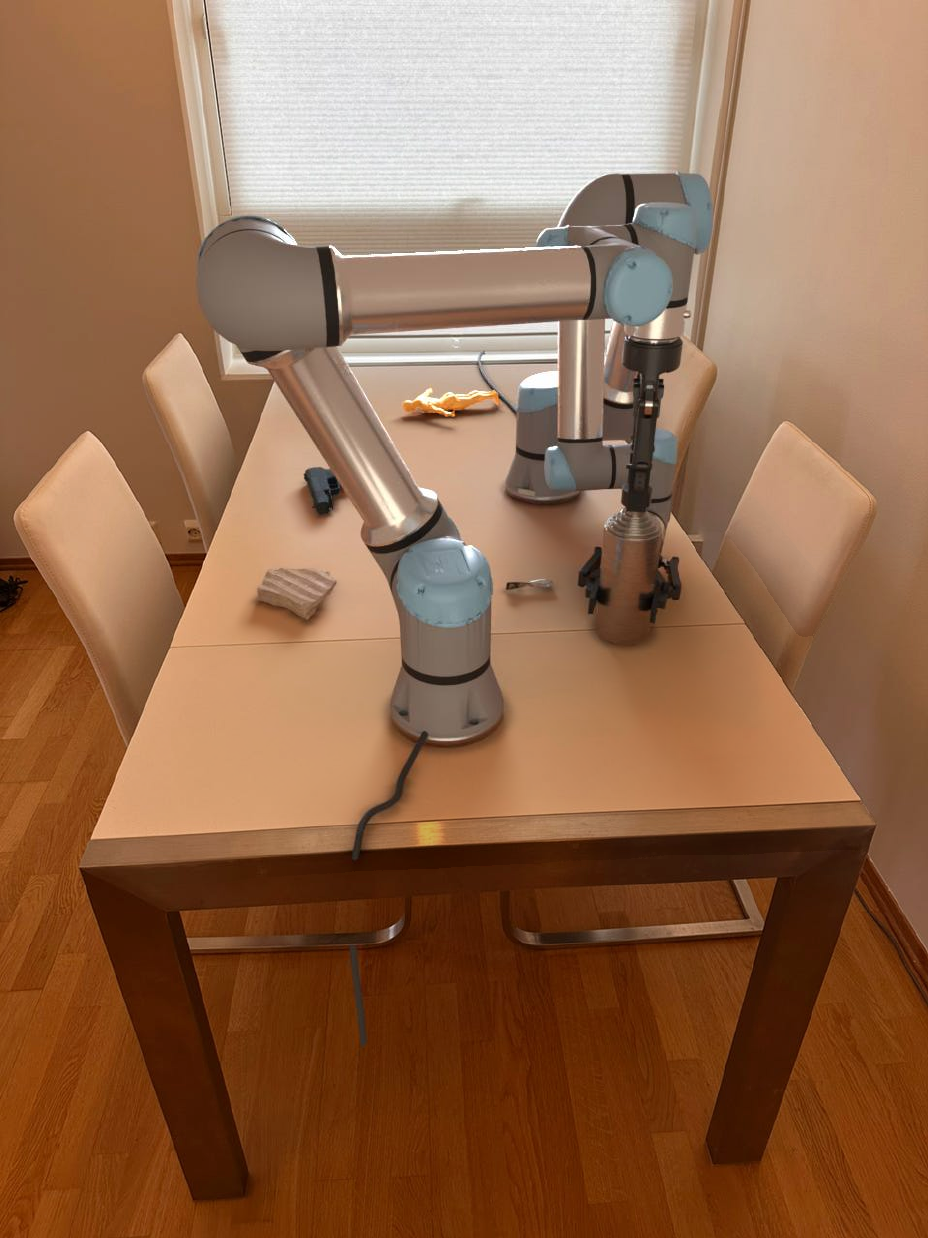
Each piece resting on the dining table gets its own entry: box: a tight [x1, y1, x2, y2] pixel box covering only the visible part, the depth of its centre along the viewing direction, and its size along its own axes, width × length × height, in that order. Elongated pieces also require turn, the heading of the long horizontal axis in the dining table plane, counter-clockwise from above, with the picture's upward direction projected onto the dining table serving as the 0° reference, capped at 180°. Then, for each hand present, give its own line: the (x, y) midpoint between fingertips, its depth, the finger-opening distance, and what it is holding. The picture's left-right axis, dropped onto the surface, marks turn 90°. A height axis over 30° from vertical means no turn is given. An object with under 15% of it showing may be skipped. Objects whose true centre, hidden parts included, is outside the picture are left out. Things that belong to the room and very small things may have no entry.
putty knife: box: [505, 578, 554, 591], centre depth 148 cm, size 1×8×2 cm, turn 103°
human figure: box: [402, 385, 500, 418], centre depth 225 cm, size 20×20×4 cm
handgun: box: [303, 466, 343, 515], centre depth 181 cm, size 3×18×12 cm
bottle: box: [594, 506, 663, 647], centre depth 132 cm, size 8×8×23 cm
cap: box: [620, 483, 652, 508], centre depth 126 cm, size 4×4×2 cm
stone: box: [256, 567, 337, 621], centre depth 147 cm, size 13×12×3 cm
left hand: (635, 503), depth 127 cm, fingers closed on cap, 4 cm apart
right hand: (621, 610), depth 131 cm, fingers closed on bottle, 8 cm apart
